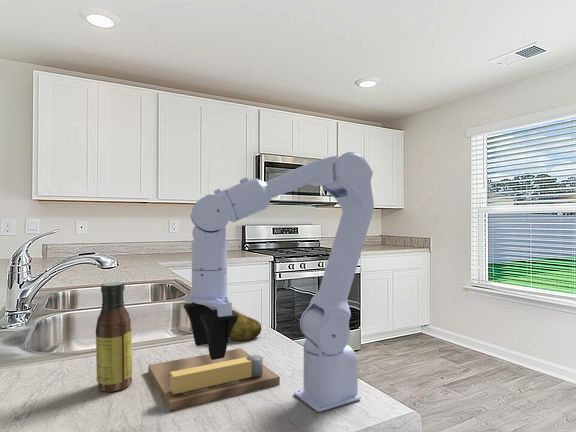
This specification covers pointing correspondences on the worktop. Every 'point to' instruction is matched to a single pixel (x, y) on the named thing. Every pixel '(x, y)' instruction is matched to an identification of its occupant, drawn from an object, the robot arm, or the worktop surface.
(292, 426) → the worktop surface
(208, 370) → the swing bar
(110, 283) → the sauce bottle
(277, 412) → the worktop surface
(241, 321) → the potato
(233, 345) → the worktop surface
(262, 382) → the label board
